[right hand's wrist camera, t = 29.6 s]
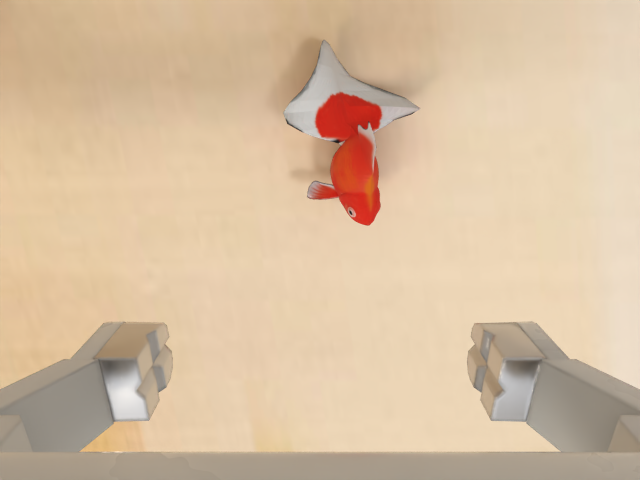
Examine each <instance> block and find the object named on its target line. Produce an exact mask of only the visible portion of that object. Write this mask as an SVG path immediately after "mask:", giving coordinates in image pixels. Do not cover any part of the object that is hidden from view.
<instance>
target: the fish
mask: <svg viewBox="0 0 640 480" xmlns="http://www.w3.org/2000/svg"><path fill="white" fill-rule="evenodd" d="M419 109H420V108H419V107H417V106H416V105H415V104H413V103H412V102H410V101H409V100H407V99H406V98H404V97H401V96H399V95H396V94H393V93H390V92H388V91H385V90H382V89H380V88H377V87H374V86H371V85H368V84H366V83H363V82H361V81H359V80H357V79H355V78H353V77H351V76H350V75H349V74H348V73H347V71H346V70H345V69H344V67H343V66H342V65H341V63H340V62H339V61H338V59H337V58H336V56H335V54H334V52H333V50H332V48H331V46H330V45H329V43H327V42H326V41H325V40H323V42H322V45H321V48H320V52H319V57H318V62H317V66H316V68H315V70H314V72H313V74H312V76H311V78H310V79H309V81H308V82H307V84H306V85H305V86H304V88H303V89H302V91H301V92H300V93H299V94H298V95H297V96H296V97H295V98H294V99H293V100H292V101H291V102H290V103H289V105H288V106H287V108H286V109H285V111H284V116H285V119H286V121H287V124H289V125H291V126H292V127H294V128H296V129H298V130H299V131H301V132H303V133H306V134H308V135H311V136H313V137H317V138H320V139H324V140H328V141H332V142H336V143H339V144H340V148H339V149H338V150H337V152H336V153H335V155H334V157H333V159H332V163H331V168H330V173H331V179H332V183H333V185H330V184H325V183H321V182H318V181H314V182H312V184H311V185H310V186H309V189H308V195H307V197H308V198H310V199H320V200H323V199H332V198H338V197H339V200H340V202H341V203H342V205H343V206H344V208H345V210H346V211H347V213H348V214H349V216H350V217H351V218H352V219H353V220H354V221H356V222H358V223H360V224H363V225H370V224H371V223H372V222H373V221H374V219H375V217H376V214H377V213H378V211H379V210H380V207H381V204H380V193H379V189H378V187H377V186H378V178H379V171H378V164H377V160H376V157H375V152H376V143H375V137H374V134H373V133H375V132H376V131H378V130H379V129H381V128H383V127H384V126H386V125H388V124H389V123H391V122H392V121H393V120H395V119H398V118H402V117H405V116H408V115H411V114H413V113H414V112H416V111H417V110H419Z"/></svg>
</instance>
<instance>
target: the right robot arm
mask: <svg viewBox="0 0 640 480" xmlns="http://www.w3.org/2000/svg"><path fill="white" fill-rule="evenodd" d="M168 338H169V333H168V328H167V325H166V324H165V323H155V322H106V323H103V324H102V325H101V326H100V328H99V329H98V330H97V331H96V332H95V333H94V334H93V335H92V336H91V337H90V338H89V339H88V340H87V342H86V343H85V344H84V345H83V346H82V347H81V348H80V349H79V350H78V351H77V352H76V353H75V354H74V356H73V357H72V358H71V359H63V360H61V361H59V362H57V363H55V364H53V365H51V366H49V367H47V368H44V369H42V370H40V371H38V372H36V373H34V374H32V375H30V376H28V377H25V378H23V379H21V380H19V381H17V382H15V383H13V384H11V385H9V386H6V387H4V388H2V389H0V480H640V389H638V388H635V387H633V386H631V385H629V384H627V383H625V382H623V381H621V380H619V379H617V378H614V377H612V376H610V375H608V374H606V373H604V372H602V371H600V370H598V369H596V368H593V367H591V366H589V365H587V364H585V363H583V362H581V361H579V360H577V359H569V358H568V357H567V356H566V354H565V353H564V352H563V351H562V350H561V349H560V348H559V347H558V346H557V345H556V344H555V343H554V342H553V340H552V339H551V338H550V337H549V336H548V335H547V334H546V333H545V332H544V331H543V330H542V329H541V328H540V326H539V325H538V324H537V323H534V322H509V323H475V324H474V326H473V328H472V332H471V338H472V340H473V341H474V343H475V345H474V346H473V347H472V348H471V349H470V350H469V351H468V358H467V367H468V374H469V377H470V381H471V383H472V385H473V387H474V388H476V389H477V390H478V391H480V392H481V393H482V394H481V402H482V404H483V406H484V408H485V410H486V412H487V414H488V416H489V418H490V420H491V421H522V422H526V423H527V424H528V425H529V426H530V427H532V428H533V429H534V430H535V431H536V432H538V433H539V434H540V435H541V436H543V437H544V438H545V439H546V440H547V441H549V442H550V443H551V444H552V445H554V446H555V447H556V448H557V449H559V450H560V451H561V452H79V451H80V450H82V449H83V448H84V447H85V446H87V445H88V444H89V443H90V442H91V441H93V440H94V439H95V438H96V437H98V436H99V435H100V434H101V433H103V432H104V431H105V430H106V429H107V428H109V427H110V426H111V425H112V424H113V423H114V422H117V421H149V420H150V418H151V416H152V414H153V412H154V410H155V408H156V406H157V404H158V402H159V394H158V393H159V392H160V391H162V390H163V389H164V388H166V387H167V385H168V383H169V380H170V378H171V373H172V369H173V357H172V351H171V350H170V349H169V348H168V347H167V346H166V345H165V343H166V341H167V340H168Z"/></svg>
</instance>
